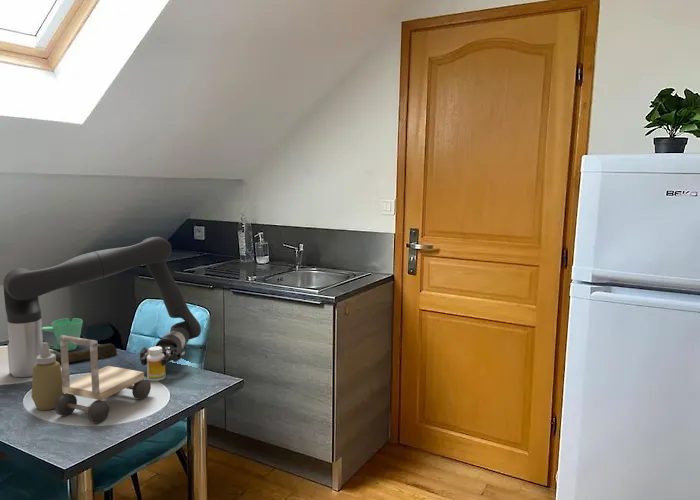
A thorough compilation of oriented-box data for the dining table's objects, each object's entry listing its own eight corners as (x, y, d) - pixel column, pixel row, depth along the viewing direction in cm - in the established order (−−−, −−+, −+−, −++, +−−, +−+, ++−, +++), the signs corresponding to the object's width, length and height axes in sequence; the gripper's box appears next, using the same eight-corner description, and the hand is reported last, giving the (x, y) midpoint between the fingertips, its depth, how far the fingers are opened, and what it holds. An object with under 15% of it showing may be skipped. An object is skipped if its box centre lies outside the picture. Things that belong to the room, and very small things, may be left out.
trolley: (55, 418, 147) (49, 337, 144) (116, 388, 167) (112, 317, 164) (93, 427, 142) (89, 344, 139) (151, 395, 162) (148, 322, 159)
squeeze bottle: (42, 415, 148) (38, 349, 146) (26, 408, 153) (21, 344, 150) (71, 404, 155) (68, 341, 152) (55, 397, 159) (51, 336, 157)
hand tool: (57, 367, 183) (56, 354, 183) (55, 363, 187) (54, 350, 186) (118, 357, 194) (117, 344, 193) (115, 354, 197) (115, 341, 196)
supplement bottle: (168, 378, 175) (167, 348, 174) (151, 382, 171) (150, 352, 170) (161, 373, 179) (160, 344, 178) (144, 377, 175) (143, 347, 174)
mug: (77, 342, 208) (76, 316, 206) (88, 348, 201) (86, 321, 200) (34, 351, 197) (32, 324, 196) (44, 358, 191) (42, 330, 189)
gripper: (149, 333, 188) (129, 350, 171) (192, 334, 188) (175, 351, 171) (150, 355, 189) (130, 373, 172) (192, 356, 189) (176, 374, 172)
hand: (153, 362), depth 172 cm, fingers closed on supplement bottle, 5 cm apart
